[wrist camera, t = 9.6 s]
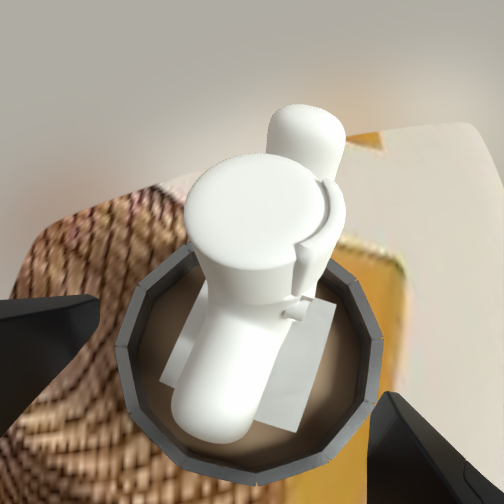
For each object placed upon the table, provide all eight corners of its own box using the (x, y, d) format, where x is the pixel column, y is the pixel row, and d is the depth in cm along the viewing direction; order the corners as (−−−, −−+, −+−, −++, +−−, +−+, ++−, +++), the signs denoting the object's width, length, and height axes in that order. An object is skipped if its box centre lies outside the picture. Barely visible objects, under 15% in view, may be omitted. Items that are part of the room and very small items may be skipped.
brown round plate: (257, 519, 14) (257, 523, 13) (88, 351, 19) (83, 349, 18) (406, 342, 20) (411, 339, 19) (244, 214, 25) (244, 207, 24)
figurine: (167, 403, 17) (-13, 347, 4) (224, 274, 21) (204, 61, 8) (279, 445, 16) (394, 526, 3) (325, 309, 20) (436, 124, 7)
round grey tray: (257, 519, 13) (259, 530, 11) (87, 349, 18) (73, 342, 16) (408, 340, 19) (422, 332, 17) (244, 210, 24) (245, 194, 22)
